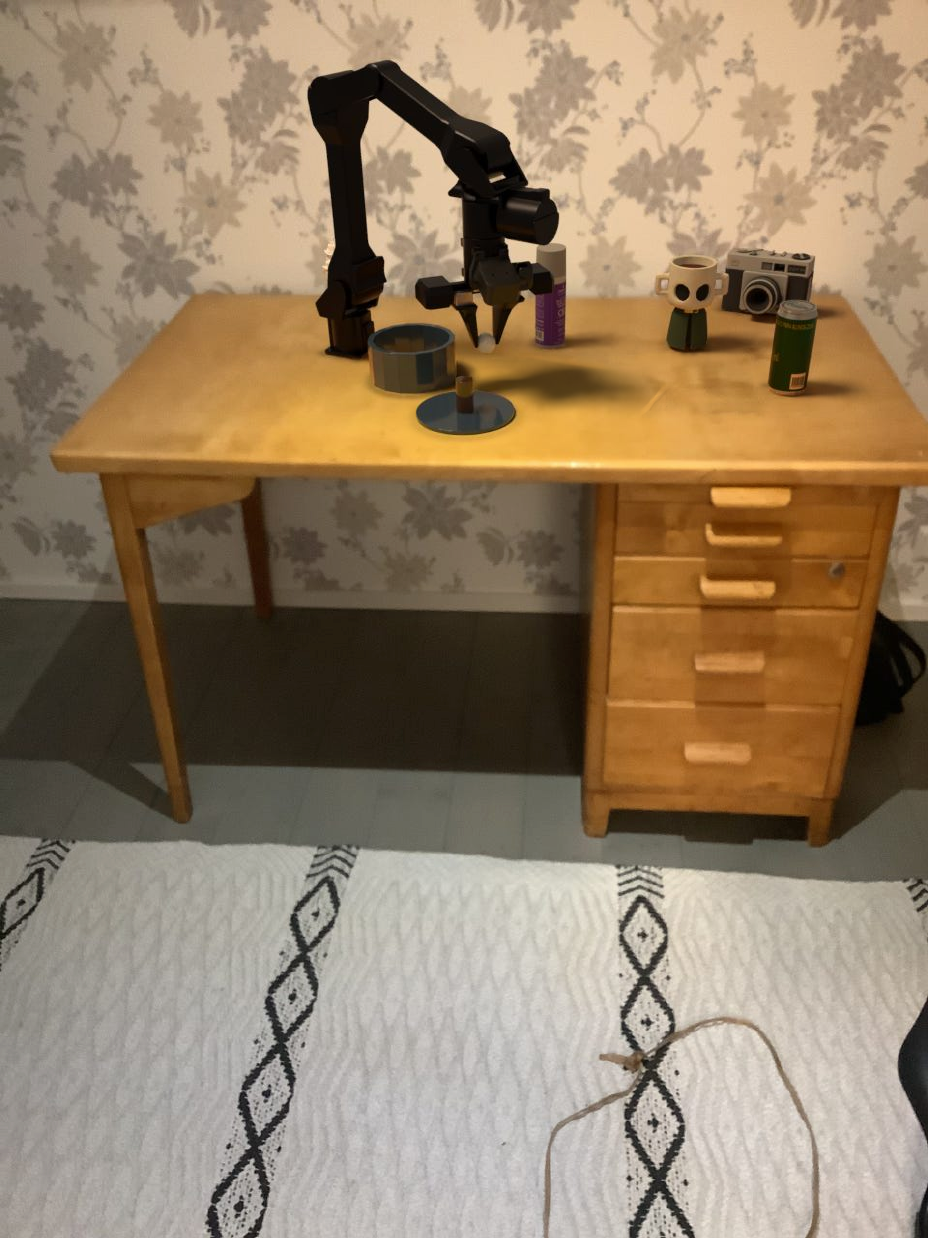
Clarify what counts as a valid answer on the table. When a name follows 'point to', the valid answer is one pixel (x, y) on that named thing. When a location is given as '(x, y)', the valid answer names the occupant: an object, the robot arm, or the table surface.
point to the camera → (766, 280)
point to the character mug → (690, 297)
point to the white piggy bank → (486, 343)
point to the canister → (412, 358)
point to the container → (551, 298)
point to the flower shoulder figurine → (328, 255)
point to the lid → (465, 410)
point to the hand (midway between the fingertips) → (485, 345)
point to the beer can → (792, 347)
